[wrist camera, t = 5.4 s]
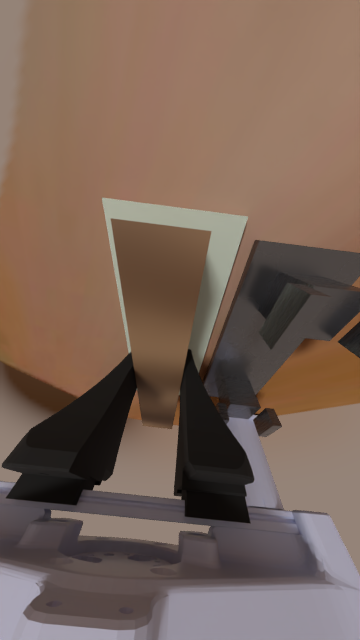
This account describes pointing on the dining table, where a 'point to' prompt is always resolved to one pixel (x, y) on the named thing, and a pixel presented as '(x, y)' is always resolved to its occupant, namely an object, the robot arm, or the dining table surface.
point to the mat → (217, 261)
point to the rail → (159, 307)
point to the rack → (280, 321)
